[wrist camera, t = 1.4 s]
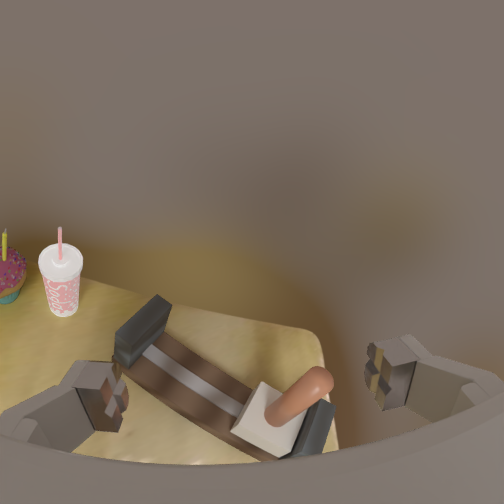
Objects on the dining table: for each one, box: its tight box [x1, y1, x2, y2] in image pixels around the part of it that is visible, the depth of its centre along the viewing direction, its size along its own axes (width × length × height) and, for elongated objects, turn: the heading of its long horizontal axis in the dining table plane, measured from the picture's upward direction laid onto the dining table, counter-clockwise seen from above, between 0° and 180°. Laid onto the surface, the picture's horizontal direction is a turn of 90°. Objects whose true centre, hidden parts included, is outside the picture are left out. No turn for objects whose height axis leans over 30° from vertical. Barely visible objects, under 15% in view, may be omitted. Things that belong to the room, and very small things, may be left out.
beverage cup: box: [38, 227, 83, 317], centre depth 35 cm, size 6×6×14 cm
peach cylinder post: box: [230, 366, 334, 458], centre depth 32 cm, size 7×7×13 cm
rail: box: [112, 294, 336, 462], centre depth 35 cm, size 27×8×8 cm, turn 65°
